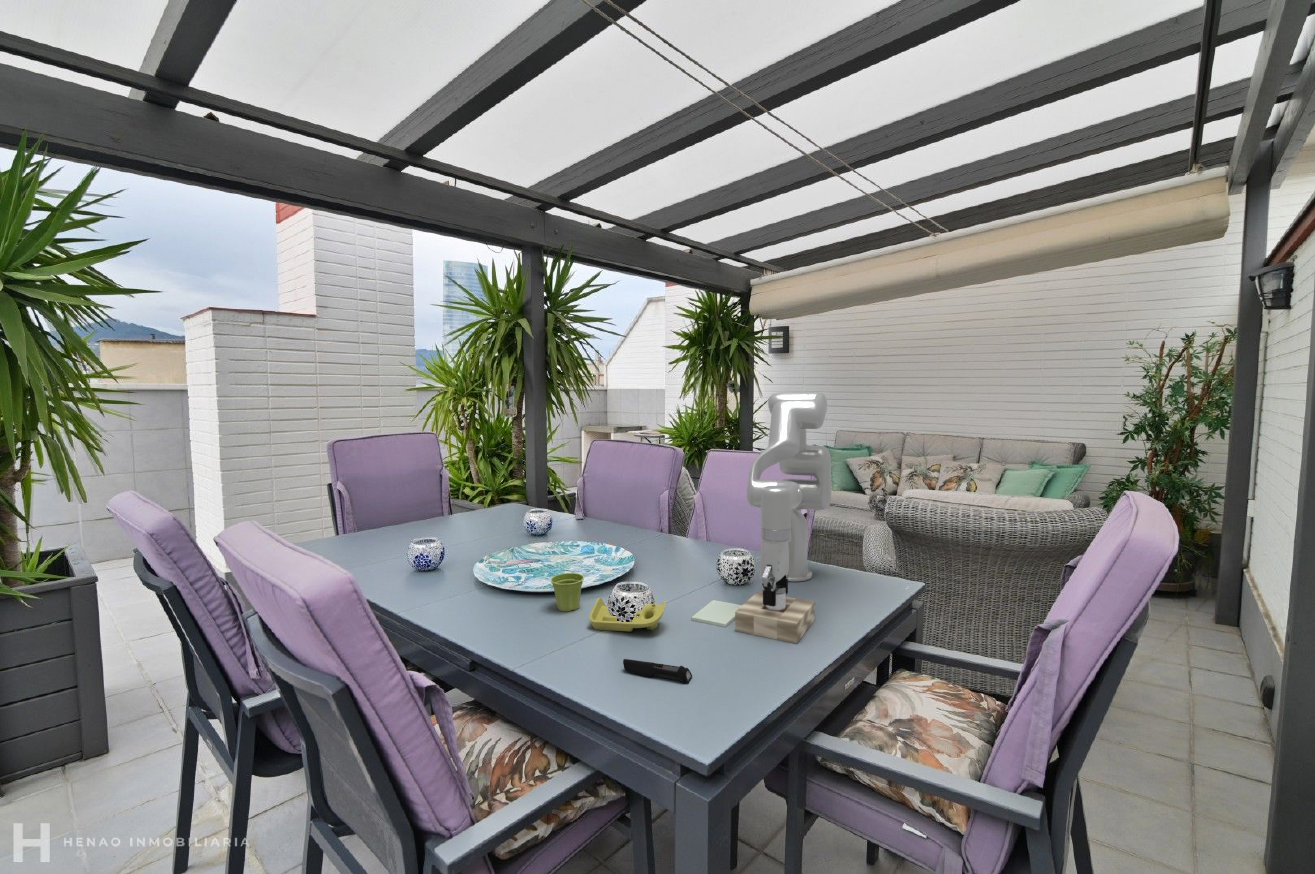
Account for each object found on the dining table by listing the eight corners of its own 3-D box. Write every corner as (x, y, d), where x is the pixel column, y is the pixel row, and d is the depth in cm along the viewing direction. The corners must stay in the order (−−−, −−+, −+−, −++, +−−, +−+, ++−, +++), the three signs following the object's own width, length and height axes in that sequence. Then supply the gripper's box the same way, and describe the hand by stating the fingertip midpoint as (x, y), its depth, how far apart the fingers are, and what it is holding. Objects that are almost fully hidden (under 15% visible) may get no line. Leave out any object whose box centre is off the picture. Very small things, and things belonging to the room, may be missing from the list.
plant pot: (578, 615, 165) (577, 584, 165) (546, 613, 167) (545, 582, 167) (589, 602, 175) (588, 573, 174) (558, 600, 176) (557, 572, 176)
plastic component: (586, 621, 155) (600, 593, 163) (594, 641, 159) (607, 612, 167) (658, 625, 149) (668, 595, 157) (665, 645, 152) (674, 615, 160)
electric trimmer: (627, 667, 136) (627, 654, 136) (693, 677, 130) (692, 663, 130) (620, 675, 132) (620, 662, 132) (687, 686, 127) (687, 671, 127)
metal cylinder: (769, 620, 160) (769, 583, 159) (788, 623, 157) (788, 586, 156) (763, 627, 155) (763, 589, 154) (782, 630, 153) (782, 592, 152)
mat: (713, 602, 173) (713, 600, 173) (745, 608, 168) (745, 605, 168) (691, 620, 161) (691, 617, 160) (725, 627, 156) (725, 624, 156)
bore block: (757, 609, 167) (757, 591, 167) (814, 619, 159) (814, 601, 159) (735, 630, 153) (735, 611, 153) (796, 643, 145) (796, 623, 145)
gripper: (772, 525, 163) (772, 586, 165) (749, 540, 148) (749, 607, 150) (800, 528, 159) (799, 591, 161) (779, 544, 144) (778, 613, 146)
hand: (775, 599), depth 155 cm, fingers open, 9 cm apart
